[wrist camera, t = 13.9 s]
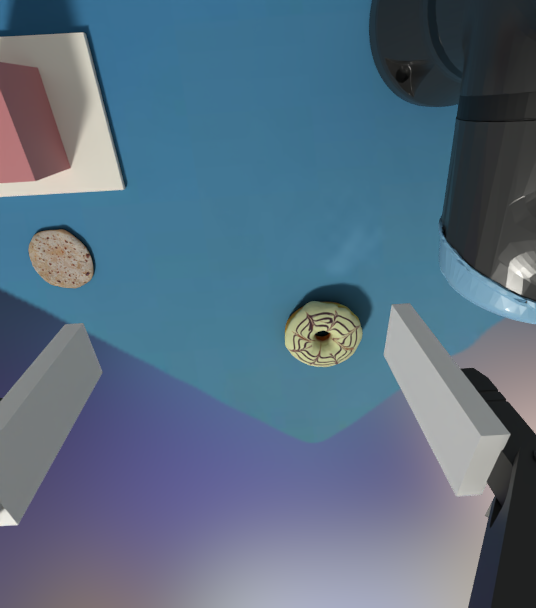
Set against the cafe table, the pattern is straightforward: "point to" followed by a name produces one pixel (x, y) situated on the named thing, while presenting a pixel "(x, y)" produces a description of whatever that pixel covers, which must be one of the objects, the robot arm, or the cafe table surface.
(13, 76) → the card deck box
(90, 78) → the serving mat
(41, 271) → the flatbread
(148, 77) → the cafe table surface
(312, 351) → the decorated donut
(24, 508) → the robot arm
